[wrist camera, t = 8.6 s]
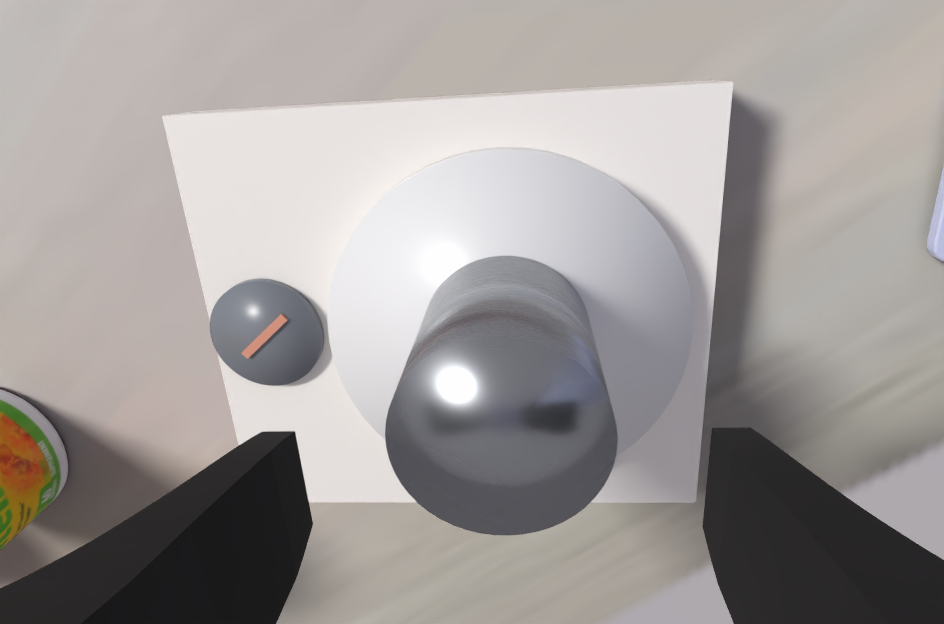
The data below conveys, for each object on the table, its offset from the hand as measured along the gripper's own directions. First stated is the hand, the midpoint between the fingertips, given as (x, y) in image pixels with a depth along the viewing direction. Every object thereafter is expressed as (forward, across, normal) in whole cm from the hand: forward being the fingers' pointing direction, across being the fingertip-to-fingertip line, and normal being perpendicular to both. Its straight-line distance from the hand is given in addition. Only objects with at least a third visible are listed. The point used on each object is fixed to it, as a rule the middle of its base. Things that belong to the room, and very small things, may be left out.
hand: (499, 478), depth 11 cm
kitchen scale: (+9, +2, 0) cm, 9 cm away
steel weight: (+6, 0, 0) cm, 6 cm away
